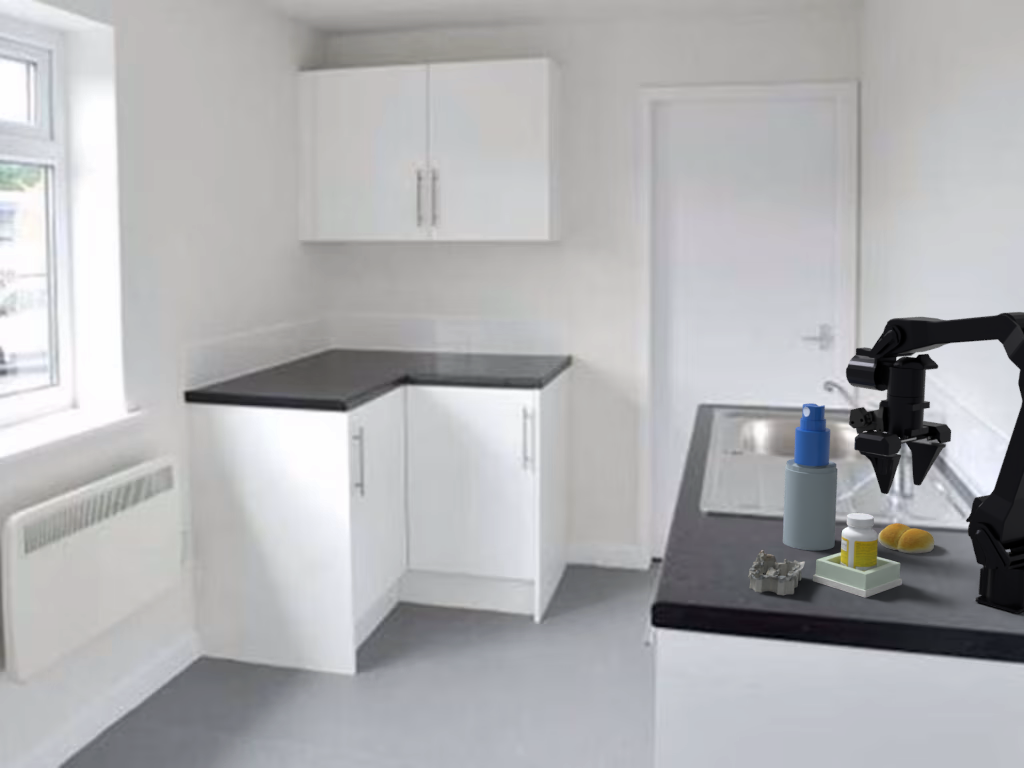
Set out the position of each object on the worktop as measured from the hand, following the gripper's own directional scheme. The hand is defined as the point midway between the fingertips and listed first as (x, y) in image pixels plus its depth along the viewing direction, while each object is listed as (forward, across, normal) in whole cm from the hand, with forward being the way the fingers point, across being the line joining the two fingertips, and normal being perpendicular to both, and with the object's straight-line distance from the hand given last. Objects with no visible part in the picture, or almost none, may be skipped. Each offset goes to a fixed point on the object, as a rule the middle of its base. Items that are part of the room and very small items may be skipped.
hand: (901, 489), depth 167 cm
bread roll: (+14, -11, -5) cm, 18 cm away
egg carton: (+14, +23, -7) cm, 27 cm away
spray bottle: (+13, +1, -17) cm, 22 cm away
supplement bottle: (+12, +12, +1) cm, 17 cm away
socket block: (+13, +12, +1) cm, 18 cm away
